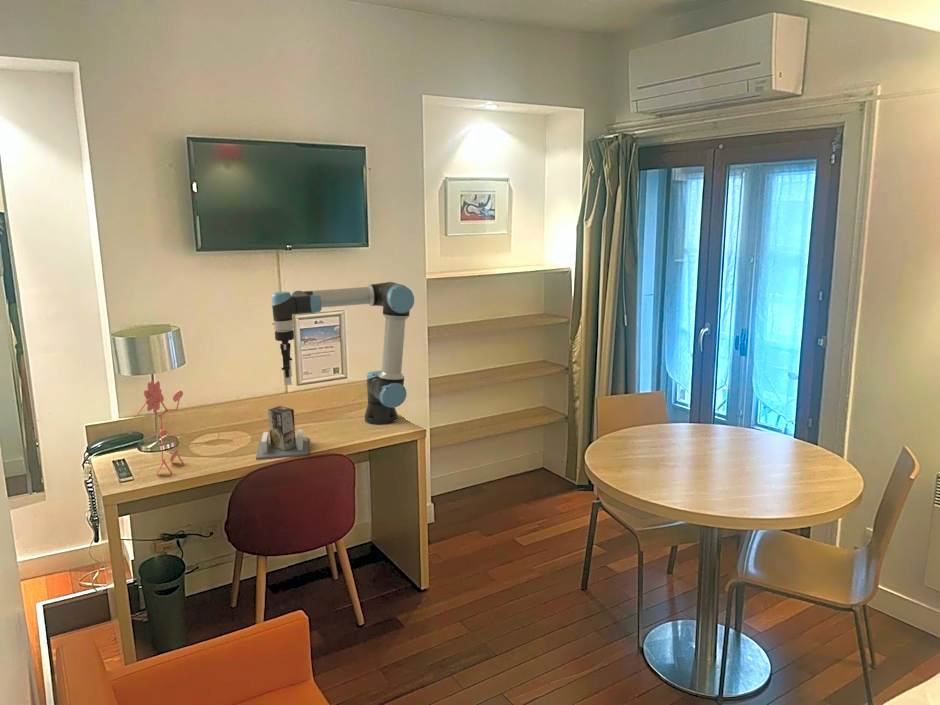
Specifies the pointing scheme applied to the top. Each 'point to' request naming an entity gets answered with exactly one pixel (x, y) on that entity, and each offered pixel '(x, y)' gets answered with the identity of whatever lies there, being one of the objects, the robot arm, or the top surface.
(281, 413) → the coffee box
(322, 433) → the top surface
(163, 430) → the figurine
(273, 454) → the collar base
